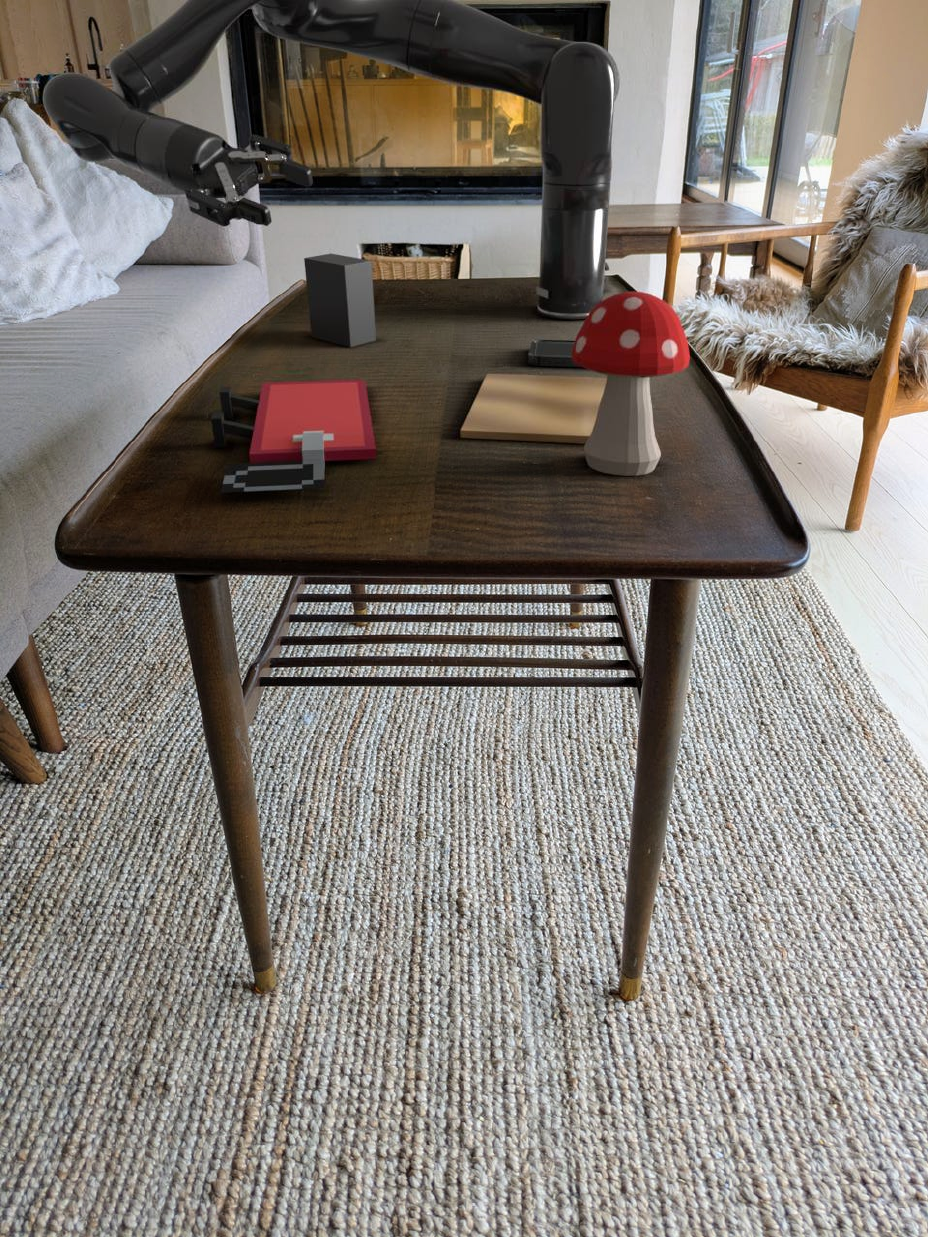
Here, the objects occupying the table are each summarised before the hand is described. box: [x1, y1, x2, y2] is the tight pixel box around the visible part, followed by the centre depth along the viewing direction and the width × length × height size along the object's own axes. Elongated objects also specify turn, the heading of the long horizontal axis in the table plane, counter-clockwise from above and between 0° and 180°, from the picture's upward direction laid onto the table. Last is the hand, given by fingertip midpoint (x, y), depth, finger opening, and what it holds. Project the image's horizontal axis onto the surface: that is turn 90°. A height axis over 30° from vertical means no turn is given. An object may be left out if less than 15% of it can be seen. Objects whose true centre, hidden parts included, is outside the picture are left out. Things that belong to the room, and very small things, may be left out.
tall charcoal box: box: [303, 253, 377, 348], centre depth 118 cm, size 8×5×10 cm, turn 47°
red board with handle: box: [210, 379, 377, 494], centre depth 87 cm, size 30×3×15 cm
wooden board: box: [459, 373, 607, 445], centre depth 94 cm, size 19×17×1 cm
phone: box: [527, 339, 583, 368], centre depth 110 cm, size 8×1×15 cm
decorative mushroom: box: [572, 291, 691, 476], centre depth 77 cm, size 10×9×15 cm
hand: (290, 197), depth 108 cm, fingers open, 8 cm apart
